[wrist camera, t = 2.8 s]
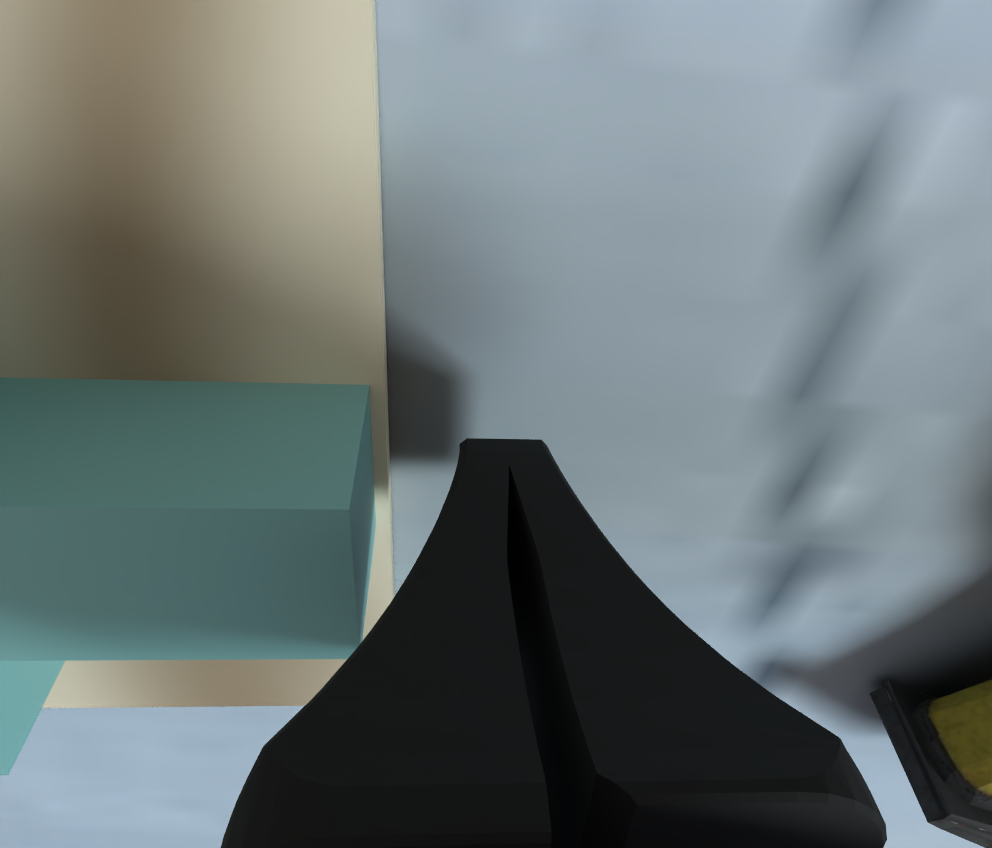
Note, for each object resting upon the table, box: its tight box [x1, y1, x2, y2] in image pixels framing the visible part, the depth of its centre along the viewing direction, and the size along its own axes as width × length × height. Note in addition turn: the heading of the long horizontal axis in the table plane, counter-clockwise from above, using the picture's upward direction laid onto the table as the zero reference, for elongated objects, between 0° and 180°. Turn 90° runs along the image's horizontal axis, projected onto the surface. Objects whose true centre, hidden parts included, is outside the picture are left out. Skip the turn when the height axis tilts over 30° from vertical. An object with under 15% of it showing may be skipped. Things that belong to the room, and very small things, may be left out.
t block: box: [0, 377, 376, 775], centre depth 11 cm, size 9×9×3 cm
